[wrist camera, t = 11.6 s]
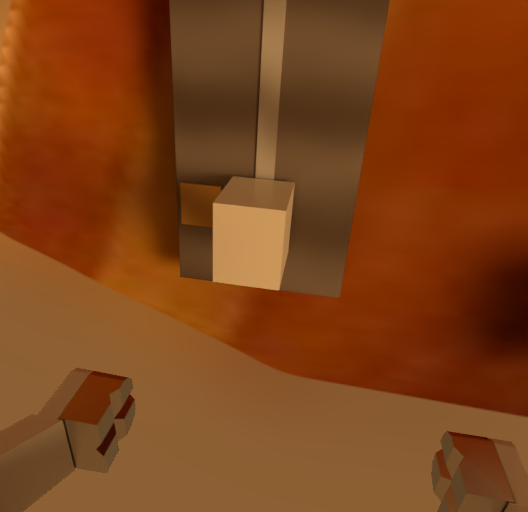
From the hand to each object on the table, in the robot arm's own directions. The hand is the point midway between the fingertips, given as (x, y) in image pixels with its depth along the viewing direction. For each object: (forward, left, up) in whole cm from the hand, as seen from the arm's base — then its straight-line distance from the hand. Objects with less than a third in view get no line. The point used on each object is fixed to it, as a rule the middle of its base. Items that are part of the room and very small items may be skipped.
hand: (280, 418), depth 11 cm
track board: (-5, -3, -22) cm, 23 cm away
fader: (+2, -3, -18) cm, 19 cm away
